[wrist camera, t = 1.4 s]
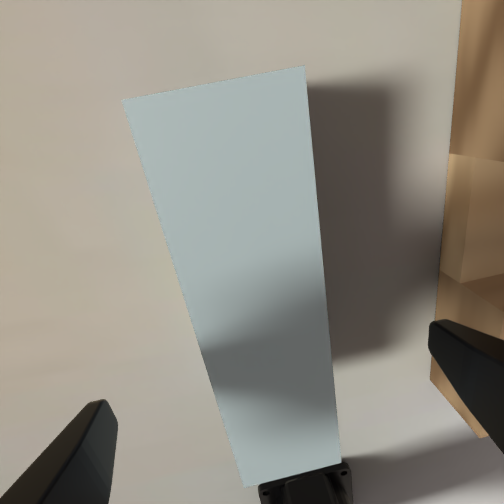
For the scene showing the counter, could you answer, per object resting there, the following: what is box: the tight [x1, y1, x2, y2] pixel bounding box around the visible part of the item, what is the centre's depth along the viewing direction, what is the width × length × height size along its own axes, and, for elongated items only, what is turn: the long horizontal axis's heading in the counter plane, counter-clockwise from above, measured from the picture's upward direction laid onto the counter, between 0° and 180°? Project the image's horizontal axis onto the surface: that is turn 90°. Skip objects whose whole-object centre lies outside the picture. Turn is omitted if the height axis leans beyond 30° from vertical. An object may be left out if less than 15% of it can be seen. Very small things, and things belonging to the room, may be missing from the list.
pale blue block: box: [122, 65, 341, 488], centre depth 12 cm, size 14×4×6 cm, turn 10°
